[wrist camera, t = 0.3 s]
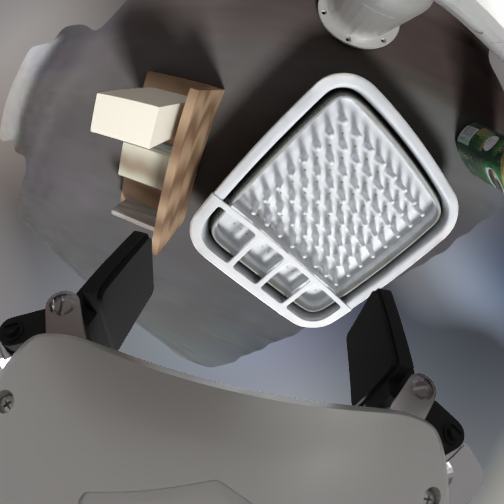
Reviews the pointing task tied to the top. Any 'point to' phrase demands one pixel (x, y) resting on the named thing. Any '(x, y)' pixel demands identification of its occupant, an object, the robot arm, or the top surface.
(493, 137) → the coffee jar
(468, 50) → the top surface
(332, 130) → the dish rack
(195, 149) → the shelf
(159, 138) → the boxed book
